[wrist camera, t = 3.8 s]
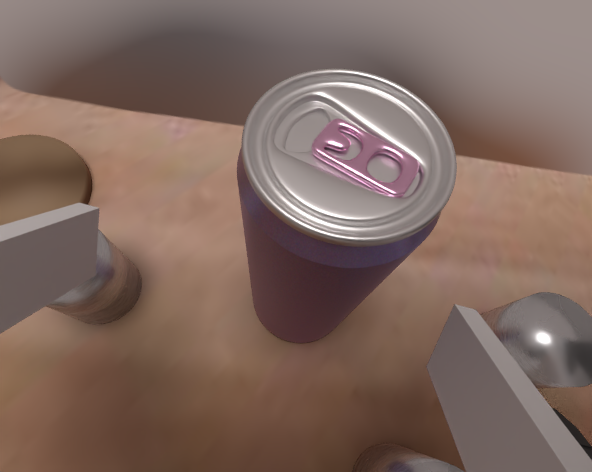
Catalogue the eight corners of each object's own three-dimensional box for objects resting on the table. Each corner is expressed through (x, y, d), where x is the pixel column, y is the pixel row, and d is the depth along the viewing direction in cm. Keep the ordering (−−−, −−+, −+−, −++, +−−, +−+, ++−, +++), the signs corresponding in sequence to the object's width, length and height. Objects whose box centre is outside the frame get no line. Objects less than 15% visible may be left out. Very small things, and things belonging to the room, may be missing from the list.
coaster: (106, 222, 23) (100, 215, 22) (-44, 277, 21) (-58, 271, 20) (75, 129, 26) (69, 120, 26) (-59, 168, 24) (-71, 159, 23)
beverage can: (314, 364, 21) (408, 302, 7) (234, 309, 22) (182, 163, 8) (359, 285, 23) (496, 125, 9) (286, 239, 24) (312, 35, 10)
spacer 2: (535, 367, 22) (626, 358, 16) (484, 403, 20) (563, 405, 15) (489, 306, 23) (558, 278, 18) (439, 336, 22) (496, 316, 16)
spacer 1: (150, 304, 21) (111, 273, 16) (76, 337, 20) (7, 315, 15) (130, 246, 23) (87, 199, 17) (60, 273, 22) (-8, 232, 16)
